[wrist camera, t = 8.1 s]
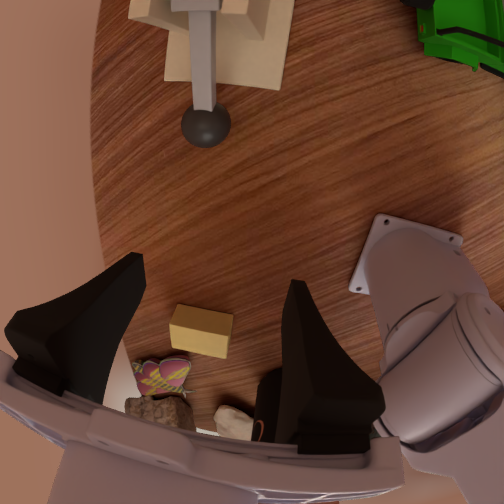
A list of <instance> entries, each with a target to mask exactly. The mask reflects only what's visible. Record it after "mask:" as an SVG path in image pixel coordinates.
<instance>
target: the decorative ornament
mask: <svg viewBox="0 0 504 504" xmlns="http://www.w3.org/2000/svg"><path fill="white" fill-rule="evenodd" d="M132 366H133V367H134V369H135V370H136V371H135V372H134V376H135V377H136V379H137V380H139V381H138V382H137V387H138V390H139V391H140V392H141V394H142V395H145V396H150V395H155V394H160V393H166V392H170V391H172V392H177V393H183V395H184V397H185V396H186V393H193V392H197V391H196V390H189V389H185V388H184V386H183V384H182V383H183V382H184V380H185V378H186V375H187V374H188V372H189V370H190V369H191V364H190V360H189V357H188V356H185V355H175V356H170V357H167V358H165V359H164V360H162V361H160V360H159V359H156V358H151V359H149V360H147V361H146V362H144V361H142V360H136V361H135V362H133V363H132ZM185 392H186V393H185ZM185 398H186V397H185Z"/></svg>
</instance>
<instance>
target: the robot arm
mask: <svg viewBox="0 0 504 504" xmlns="http://www.w3.org/2000/svg"><path fill="white" fill-rule="evenodd" d="M386 219H388V222H387V223H384V221H385V220H386ZM450 237H452V238H451V239H449V238H450ZM462 242H463V237H462V236H461V235H460V234H456V233H453V232H449V231H446V230H442V229H439V228H435V227H432V226H428V225H425V224H421V223H417V222H413V221H410V220H406V219H402V218H398V217H394V216H390V215H386V214H377V215H376V216H375V218H374V221H373V224H372V227H371V229H370V232H369V235H368V237H367V240H366V243H365V245H364V248H363V251H362V253H361V256H360V258H359V261H358V263H357V266H356V268H355V271H354V273H353V275H352V278H351V280H350V283H349V285H348V288H349V290H350V291H351V292H357V293H363V294H370V296H371V300H372V304H373V307H374V311H375V315H376V319H377V323H378V327H379V331H380V335H381V339H382V344H383V348H384V356H383V358H382V359H381V360H380V361H379V365H380V370H381V375H382V376H380V377H379V378H378V379H377V380H376V381H374V380H373V379H371V378H370V377H369V376H368V375H367V374H366V373H365V372H364V371H362V370H361V369H360V368H359V367H358V366H357V365H356V364H355V363H354V361H353V360H352V359H351V358H350V357H349V356H348V355H347V354H346V352H345V351H344V350H343V349H342V347H341V346H340V345H339V343H338V342H337V341H336V339H335V338H334V336H333V335H332V333H331V332H330V330H329V329H328V327H327V325H326V324H325V322H324V320H323V318H322V317H321V315H320V313H319V311H318V309H317V307H316V305H315V303H314V301H313V299H312V296H311V294H310V292H309V290H308V287H307V285H306V283H305V281H300V280H294V279H292V280H291V283H290V287H289V290H288V294H287V297H286V301H285V304H284V308H283V314H282V326H281V337H282V386H281V396H280V406H279V414H278V422H277V429H276V436H275V442H274V443H265V442H255V441H247V440H239V439H232V438H226V437H220V436H214V435H208V434H203V433H198V432H193V431H189V430H184V429H180V428H176V427H171V426H167V425H164V424H160V423H156V422H152V421H149V420H145V419H142V418H139V417H135V416H132V415H129V414H126V413H123V412H120V411H117V410H114V409H111V408H108V407H106V406H103V405H102V404H103V398H104V394H105V389H106V385H107V381H108V377H109V373H110V370H111V367H112V363H113V360H114V357H115V354H116V351H117V349H118V345H119V343H120V341H121V339H122V336H123V334H124V332H125V331H126V329H127V327H128V325H129V323H130V321H131V319H132V317H133V315H134V313H135V311H136V309H137V308H138V306H139V304H140V301H141V299H142V296H143V294H144V291H145V288H146V279H145V271H144V262H143V254H140V253H135V252H131V253H129V254H128V255H126V256H125V257H123V258H122V259H120V260H119V261H118V262H116V263H115V264H114V265H112V266H111V267H109V268H108V269H106V270H105V271H104V272H102V273H101V274H99V275H98V276H96V277H95V278H93V279H92V280H90V281H89V282H87V283H85V284H84V285H82V286H80V287H78V288H77V289H75V290H73V291H71V292H69V293H67V294H65V295H63V296H60V297H58V298H56V299H54V300H51V301H49V302H46V303H43V304H41V305H38V306H35V307H31V308H27V309H23V310H20V311H17V312H16V313H15V314H14V316H13V317H12V319H11V320H10V321H9V323H8V324H7V326H6V327H5V329H4V332H5V336H6V338H7V340H8V341H9V343H10V344H11V346H12V347H13V349H14V350H15V352H16V353H17V355H18V358H17V360H15V359H14V358H13V357H11V356H10V355H8V354H6V353H5V352H3V351H1V350H0V409H2V410H3V411H4V412H6V413H8V414H9V415H10V416H12V417H13V418H15V419H16V420H17V421H19V422H20V423H22V424H24V425H25V426H27V427H28V428H30V429H31V430H33V431H34V432H36V433H38V434H39V435H41V436H42V437H44V438H46V439H48V440H49V441H51V442H53V443H54V444H56V445H58V446H60V447H62V448H64V449H65V451H64V454H63V457H62V459H61V462H60V465H59V468H58V471H57V474H56V477H55V480H54V483H53V486H52V489H51V493H50V496H49V499H48V503H47V504H257V503H267V504H301V503H320V502H333V501H342V500H352V499H360V498H367V497H374V496H377V495H380V494H383V493H386V492H389V491H392V490H395V489H397V488H400V487H402V486H404V483H405V482H404V471H403V462H402V454H403V455H404V456H405V457H406V459H407V460H408V462H409V464H410V465H411V467H412V468H413V469H415V470H418V471H422V472H426V473H431V474H437V475H442V476H447V477H451V478H453V479H454V480H455V482H456V484H457V485H458V487H459V489H460V491H461V493H462V494H463V496H464V498H465V500H466V501H467V503H468V504H504V312H503V311H502V309H501V308H500V307H499V306H498V305H497V304H496V303H495V302H493V301H492V300H491V299H490V296H489V291H488V289H487V286H486V284H485V283H484V281H483V280H482V278H481V277H480V275H479V274H478V272H477V271H476V269H475V268H474V266H473V265H472V264H471V262H470V261H469V259H468V258H467V257H466V255H465V254H464V252H463V251H462V250H461V248H460V246H461V244H462ZM357 287H360V288H357ZM372 423H373V425H374V427H375V428H376V430H377V432H378V433H379V434H380V436H381V437H379V438H374V439H371V440H370V438H369V434H370V433H371V432H372V426H371V424H372ZM401 453H402V454H401Z"/></svg>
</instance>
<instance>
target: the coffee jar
mask: <svg viewBox="0 0 504 504" xmlns="http://www.w3.org/2000/svg"><path fill="white" fill-rule="evenodd" d="M281 386H282V368H279V369H275V370H273V371H272V372H270V373H268V374H267V375H266V377H264V378H263V380H262V381H261V382H260V384H259V385H258V389H257V397H256V405H255V413H254V420H253V428H252V435H251V441H255V442H265V443H274V442H275V436H276V429H277V422H278V414H279V406H280V396H281ZM257 504H267V503H257ZM301 504H339V501H333V502H320V503H301Z"/></svg>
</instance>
